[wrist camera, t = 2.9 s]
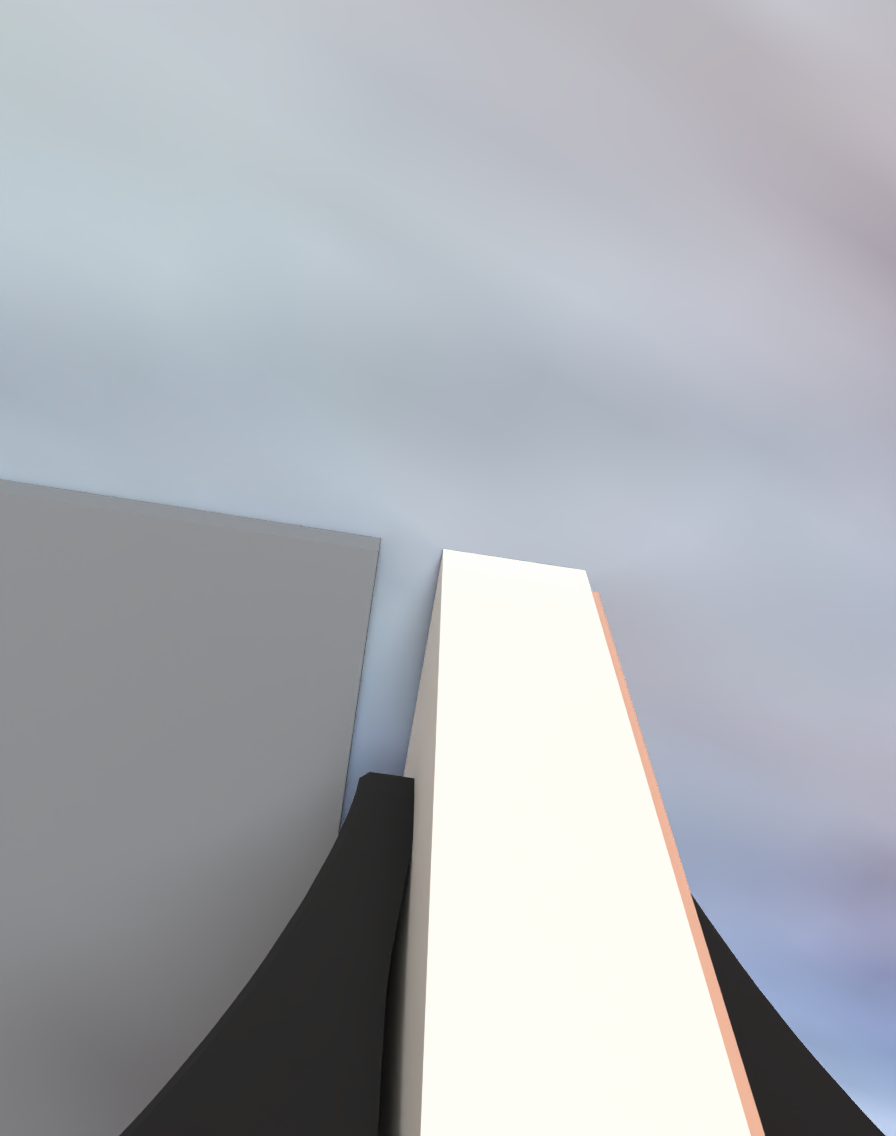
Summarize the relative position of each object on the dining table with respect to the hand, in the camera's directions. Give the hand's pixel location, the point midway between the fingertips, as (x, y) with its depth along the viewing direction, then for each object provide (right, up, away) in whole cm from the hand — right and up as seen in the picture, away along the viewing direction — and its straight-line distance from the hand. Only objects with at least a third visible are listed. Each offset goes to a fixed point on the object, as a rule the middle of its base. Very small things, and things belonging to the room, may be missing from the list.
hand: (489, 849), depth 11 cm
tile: (0, +1, +2) cm, 2 cm away
